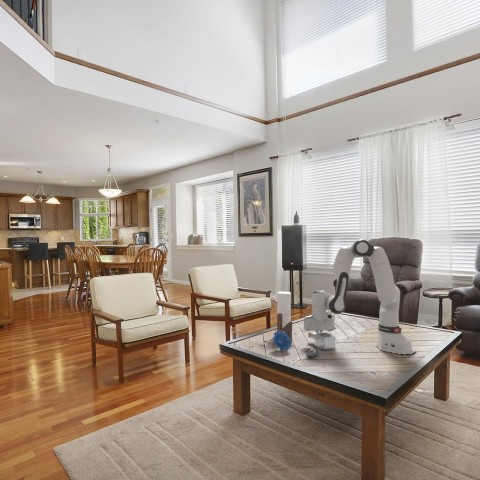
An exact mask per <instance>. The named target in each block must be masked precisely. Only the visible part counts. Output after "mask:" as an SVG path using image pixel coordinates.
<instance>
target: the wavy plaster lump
mask: <svg viewBox="0 0 480 480" xmlns="http://www.w3.org/2000/svg"><path fill="white" fill-rule="evenodd" d="M326 312H327V313H329V314H332V315H333V320H334V321H335V319H336V314H334V313H333V312H332V311H331V310H329V309H326Z"/></svg>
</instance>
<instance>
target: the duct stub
mask: <svg viewBox="0 0 480 480" xmlns="http://www.w3.org/2000/svg"><path fill="white" fill-rule="evenodd" d="M305 355H306V356H307V358H309V359H312V358H314V357H315V356H318V355H319V349H317V346H311V347H310V348H308V349H306V351H305Z"/></svg>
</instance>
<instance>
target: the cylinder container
mask: <svg viewBox="0 0 480 480" xmlns="http://www.w3.org/2000/svg"><path fill="white" fill-rule="evenodd" d="M276 293H277V298H276V299H277V300H276V304H277V305H276V309H277V311H276V314H277V313H282V328H284V327H285V326H286V325H287V324H288V323H289V322H291V321H292V320H291V315H292V312H291V311H292V310H291V309H292V307H291V306H292V301H291V299H292V298H291V295H292V292H291V291H277V292H276ZM282 332H283V331H282ZM283 333H284V332H283Z"/></svg>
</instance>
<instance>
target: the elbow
mask: <svg viewBox="0 0 480 480" xmlns="http://www.w3.org/2000/svg"><path fill="white" fill-rule="evenodd" d="M307 332H308V333H307V334H308V338H310V339H314V340H315V345H314V346H315V347H317V346H318V347H320V348H323V349H329V348H334V349H335V348H336V335H334V334H331V333H329V332H327V333H328V334H329V336H327V337H324V336H322V333H323V332H322V333H320V334H317V333H316V332H314V331H307Z"/></svg>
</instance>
